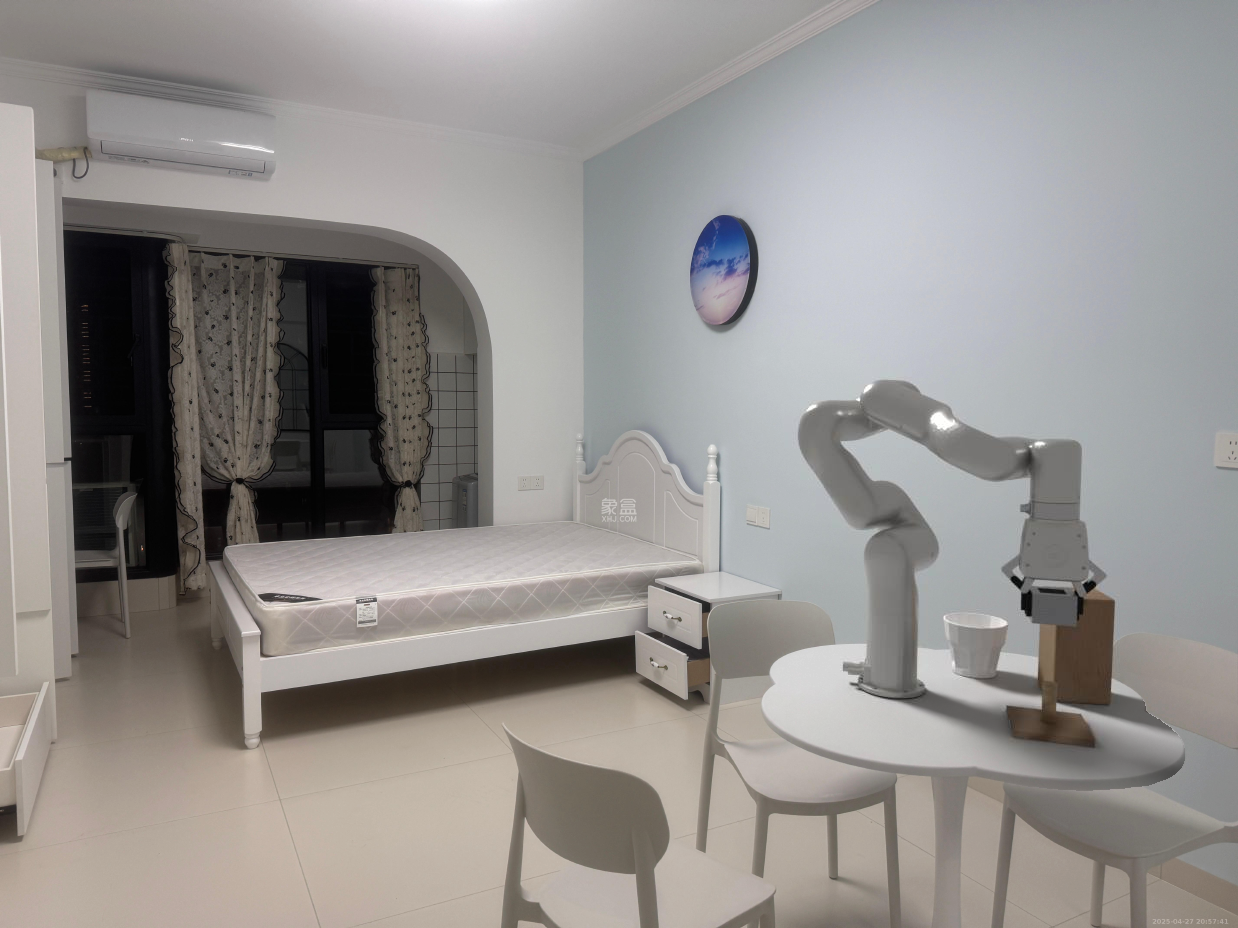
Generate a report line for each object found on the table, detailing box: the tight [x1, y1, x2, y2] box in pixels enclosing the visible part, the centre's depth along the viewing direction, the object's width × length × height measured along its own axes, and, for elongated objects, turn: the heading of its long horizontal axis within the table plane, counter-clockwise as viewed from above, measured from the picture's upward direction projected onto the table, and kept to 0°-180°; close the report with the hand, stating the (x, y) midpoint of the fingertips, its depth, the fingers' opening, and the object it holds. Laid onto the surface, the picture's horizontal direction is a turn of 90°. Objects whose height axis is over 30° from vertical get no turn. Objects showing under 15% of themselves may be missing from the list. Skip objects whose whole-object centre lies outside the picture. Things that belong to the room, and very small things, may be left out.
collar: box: [1028, 585, 1077, 627], centre depth 138 cm, size 7×7×5 cm
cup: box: [943, 612, 1009, 680], centre depth 169 cm, size 12×12×11 cm
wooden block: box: [1037, 585, 1116, 706], centre depth 155 cm, size 10×10×20 cm
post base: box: [1005, 681, 1096, 748], centre depth 139 cm, size 12×12×8 cm
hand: (1051, 615), depth 138 cm, fingers closed on collar, 6 cm apart
